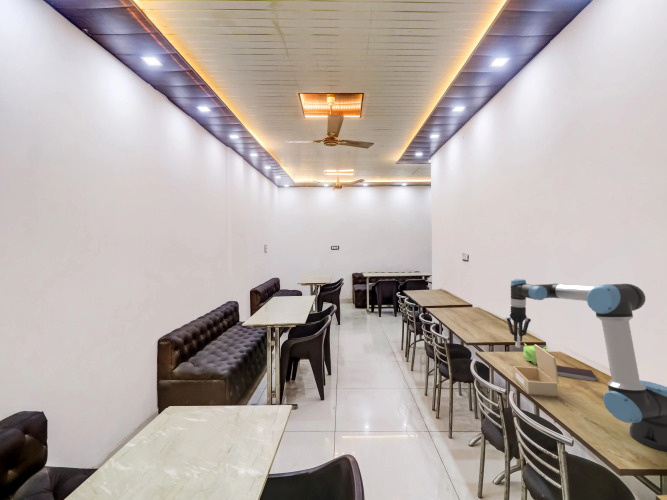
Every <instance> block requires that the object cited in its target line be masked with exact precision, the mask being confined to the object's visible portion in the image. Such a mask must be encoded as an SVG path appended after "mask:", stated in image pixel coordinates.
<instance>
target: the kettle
mask: <svg viewBox="0 0 667 500" xmlns="http://www.w3.org/2000/svg"><path fill="white" fill-rule="evenodd" d="M523 344H524V346H523V359H525V360H526V361H527V362H528V361H531V362H530V363H532V364H533V365H534V364H537V359H536V352H535V345H527V344H526V343H523ZM542 349H543V350H545V351H546V352H548V350H547V349H548V346H544V347H542ZM548 353H549V352H548Z"/></svg>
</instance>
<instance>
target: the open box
mask: <svg viewBox="0 0 667 500" xmlns="http://www.w3.org/2000/svg"><path fill="white" fill-rule="evenodd" d="M512 379H513V380H514V379H515V380H516V381H517V382H518V383H519V384H518V383H517V382H516V381H515V380H514V381H515V382H516V383H517V384H518V385H519V386H520V388H521V389H522V390H523V391H524V392H525V393H526V394H527V395H530V396H541V397H542V396H544V397H558V383H557V382H556V381H555V380H553V379H552V378H551V377H550V376H549V375H547V374H546V373H545V372H544V371H543V370H541V369H540V368H539V367H530V366H516V365H515V366H514V365H513V366H512Z"/></svg>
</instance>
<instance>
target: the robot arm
mask: <svg viewBox="0 0 667 500" xmlns="http://www.w3.org/2000/svg"><path fill="white" fill-rule="evenodd" d="M527 298H528V299H533V300H534V301H542V300H545V299H562V300H563V299H564V300H571V301H572V300H573V301H583V302H584V301H585V302H586V303H587V306H588V307H589V308H590V309H591V310H592V311H593V312H594V313H595V315H596V316H595V317H596V319H599V320H600V321H601V325H602V330H603V331H602V332H603V337H604V342H605V348H606V355H607V359H608V360H607V362H608V366H609V371H610V377H611V379H610V380H609V381H608V382H607V389H608V391H606V392H605V393H604V394H603V398H602V400H603V401H602V402H603V404H604V407H605V408H606V410H607V411H608V412H609V413H610V414H611V415H612V416H613V417H614V418H615V419H617V420H618V421H621V422H623V423H629V424H630V423H631V425H630V426H629V435H630V436H631V438H633V439H634V440H635V441H637V442H638V443H640V444H642V445H645V446H647V447H650V448H653V449H656V450H659V451H663V452H664V451H665V452H667V386H665V385H663V384H658V383H656V382H652V381H648V380H647V381H646V380H640V375H639V369H638V364H637V360H636V359H637V357H636V354H635V353H636V352H635V348H634V342H633V335H632V331H631V326H630V320H632V318H634V314H633V311H637V310H639V309H640V308H642V307H643V306H644V304H645V303H646V300H647V299H646V295H645V293H644V291H643V290H642V289H641V288H640V287H639V286H637V285H634V284H632V283H631V284H630V283H613V284H610V283H609V284H608V283H606V284H599V285H582V284H581V285H579V284H560V283H549V284H548V283H545V284H530V283H527V281H526V279H524V278H523V279H521V278H513V279H511V280H510V305H511V306H510V313H509V316H507V317H505V320H506V322H507V325H508V329H509V333H510V334H511V335H512V336H513V340H514V342H515V347H516V349H517V348H518V349H521V342H523V337H524V336H527V332H528V327H529V325H530V323H531V322H532V319H531V318H529V317H527V313H526V312H527V308H526V307H527V306H526V305H527ZM512 322H513V325H512ZM523 323H524V324H523Z"/></svg>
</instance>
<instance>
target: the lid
mask: <svg viewBox="0 0 667 500" xmlns="http://www.w3.org/2000/svg"><path fill="white" fill-rule="evenodd" d="M533 346H535V352H536V359H537V365H536V366H537V368H539V369H540V370H542V371H543V372H544V373H545V374H546V375H547V376H549V377H550V378H551V379H552V380H553V381H555V382H556V383H557V384H559V383H560V380H559V376H558V373H557V367H556V365H557V361H556V357H555V356H554V355H552V354H551V353H549V352H546V351H545V350H543V347H540V346H539V345H537V344H535V343H534V345H533Z"/></svg>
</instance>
